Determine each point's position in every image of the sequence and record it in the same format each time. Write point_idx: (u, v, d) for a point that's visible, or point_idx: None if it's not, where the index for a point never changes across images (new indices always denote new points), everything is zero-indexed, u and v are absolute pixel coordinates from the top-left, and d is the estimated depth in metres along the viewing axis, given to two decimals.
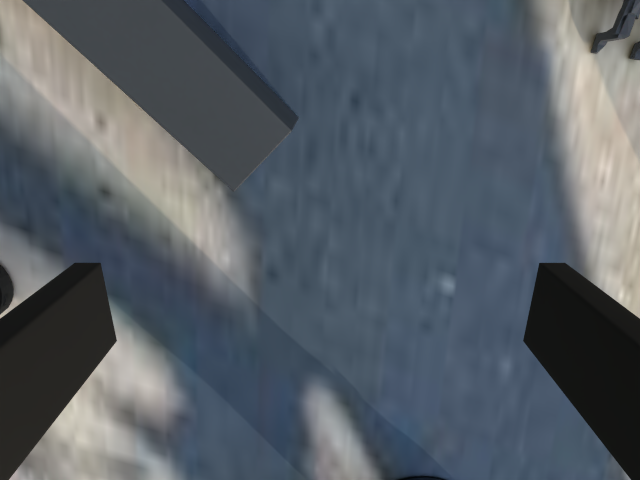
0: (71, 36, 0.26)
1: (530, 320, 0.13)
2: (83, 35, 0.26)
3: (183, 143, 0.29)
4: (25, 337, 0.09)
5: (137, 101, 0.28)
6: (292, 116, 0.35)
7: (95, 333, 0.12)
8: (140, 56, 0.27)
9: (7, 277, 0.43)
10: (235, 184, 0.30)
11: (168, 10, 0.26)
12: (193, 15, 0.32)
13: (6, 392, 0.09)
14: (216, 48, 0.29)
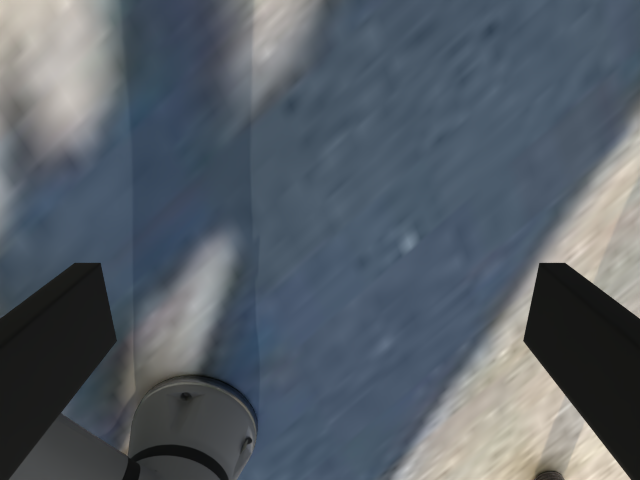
0: None
1: (530, 320, 0.13)
2: None
3: None
4: (25, 337, 0.09)
5: None
6: None
7: (95, 333, 0.12)
8: None
9: None
10: None
11: None
12: None
13: (6, 392, 0.09)
14: None
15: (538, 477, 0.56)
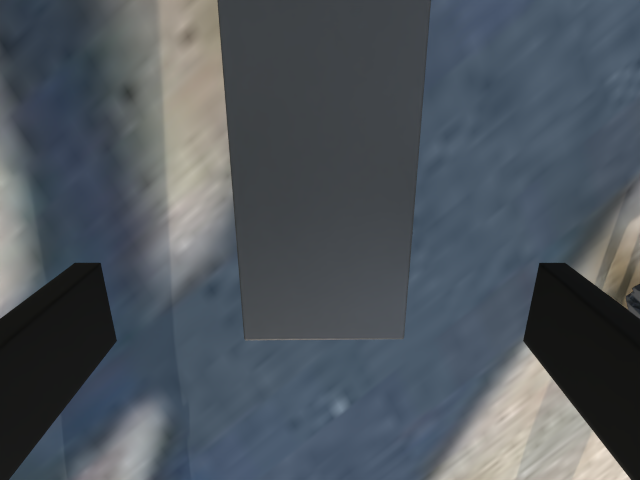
0: None
1: (530, 320, 0.13)
2: None
3: (239, 223, 0.14)
4: (25, 337, 0.09)
5: (230, 102, 0.13)
6: None
7: (95, 333, 0.12)
8: (307, 48, 0.12)
9: None
10: (257, 334, 0.16)
11: (424, 36, 0.12)
12: None
13: (6, 392, 0.09)
14: None
15: None
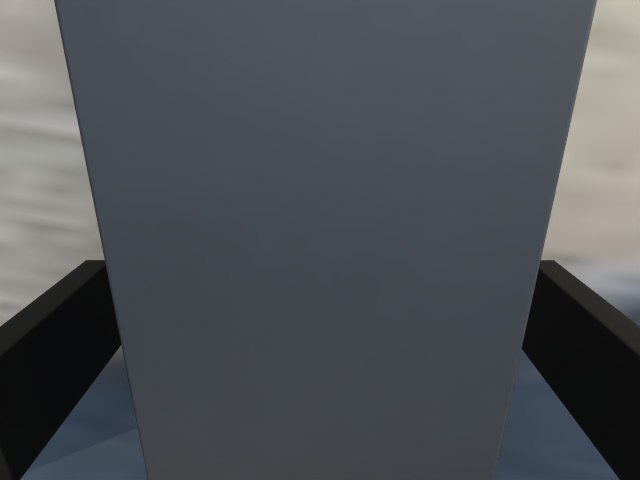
0: None
1: None
2: None
3: (145, 425, 0.07)
4: (41, 332, 0.09)
5: (103, 192, 0.05)
6: None
7: (106, 329, 0.12)
8: (281, 70, 0.05)
9: None
10: None
11: (579, 43, 0.05)
12: None
13: (23, 386, 0.09)
14: None
15: None
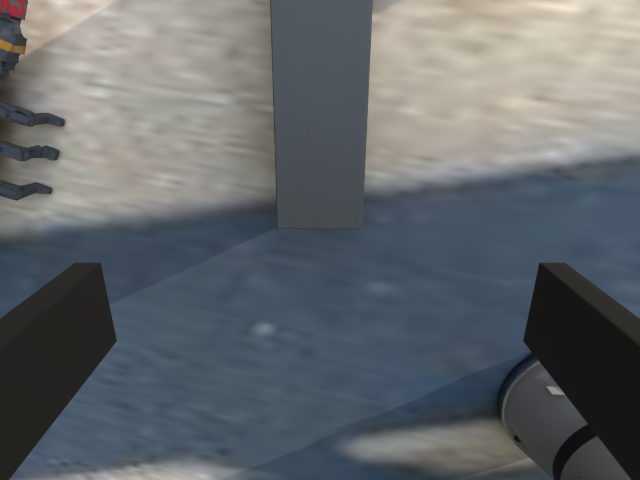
0: (277, 9, 0.25)
1: (530, 320, 0.13)
2: (287, 19, 0.25)
3: (277, 163, 0.28)
4: (25, 337, 0.09)
5: (276, 102, 0.27)
6: None
7: (95, 333, 0.12)
8: (312, 77, 0.26)
9: None
10: (284, 225, 0.30)
11: (367, 72, 0.26)
12: None
13: (6, 392, 0.09)
14: None
15: None
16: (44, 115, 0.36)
